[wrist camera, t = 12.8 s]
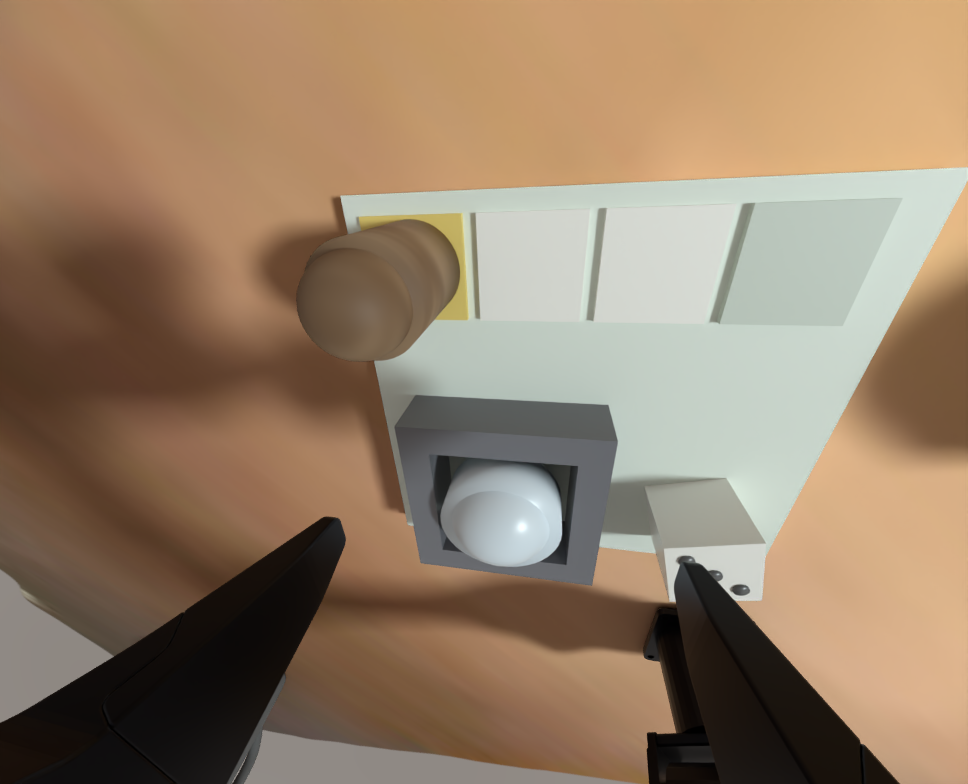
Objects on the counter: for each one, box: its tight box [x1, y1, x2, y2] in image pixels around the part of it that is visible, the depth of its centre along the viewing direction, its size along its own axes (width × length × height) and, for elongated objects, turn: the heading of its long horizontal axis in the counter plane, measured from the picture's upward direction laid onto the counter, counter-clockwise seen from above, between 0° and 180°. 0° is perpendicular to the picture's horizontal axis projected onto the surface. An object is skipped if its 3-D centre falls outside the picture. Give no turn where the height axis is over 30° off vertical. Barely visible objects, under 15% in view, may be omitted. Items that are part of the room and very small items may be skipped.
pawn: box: [296, 219, 460, 362], centre depth 13 cm, size 4×4×7 cm
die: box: [644, 478, 766, 602], centre depth 18 cm, size 4×4×4 cm
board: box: [340, 167, 968, 556], centre depth 18 cm, size 20×22×1 cm
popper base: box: [394, 395, 618, 586], centre depth 20 cm, size 10×10×3 cm
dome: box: [440, 458, 562, 567], centre depth 18 cm, size 6×6×5 cm
